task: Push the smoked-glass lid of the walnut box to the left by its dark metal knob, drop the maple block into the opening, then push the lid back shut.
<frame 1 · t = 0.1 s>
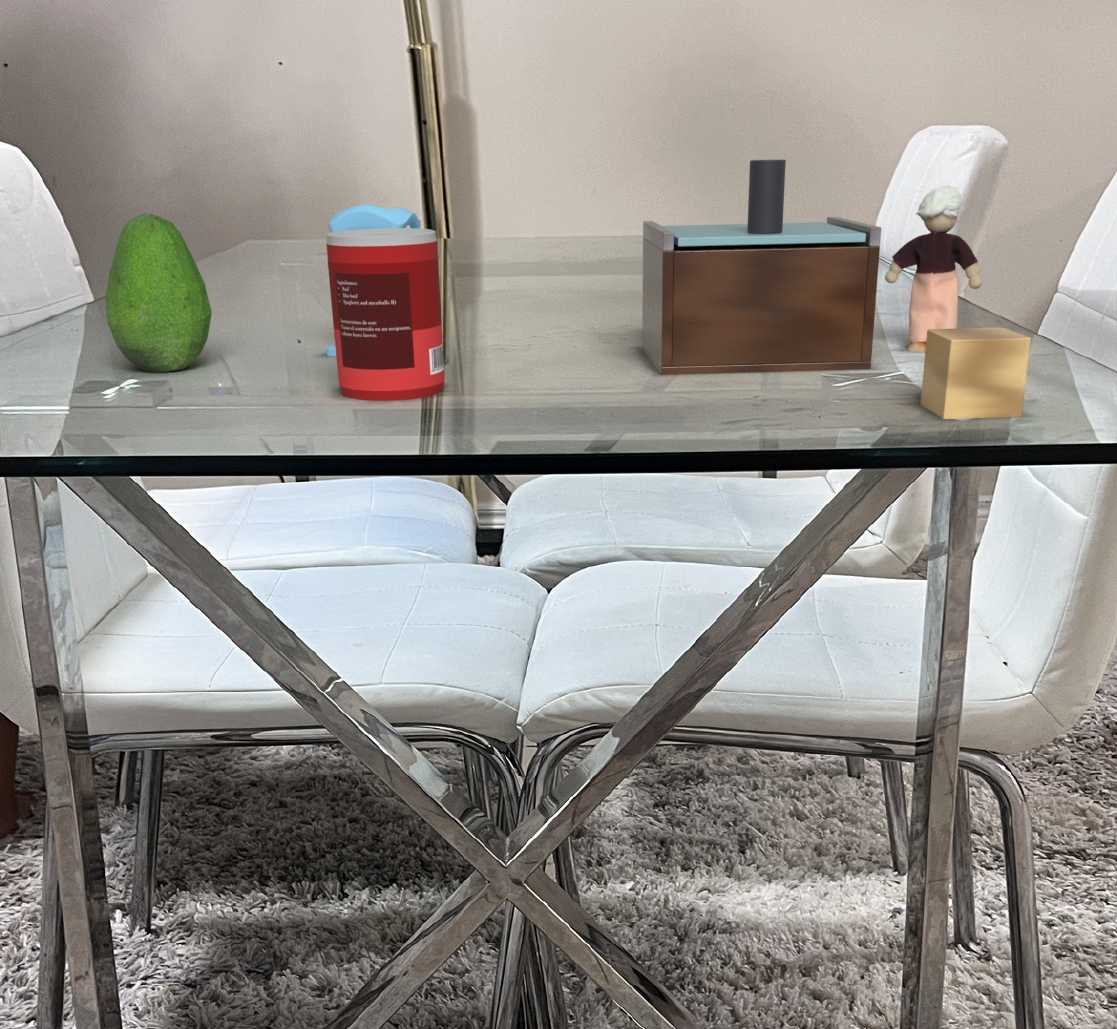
box: (749, 360, 108), on the table
avocado: (168, 375, 108), on the table
grandmother figurine: (926, 354, 110), on the table
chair: (385, 354, 116), on the table
canned food: (392, 397, 97), on the table
lid: (756, 198, 103), point 12 cm above the table, slide at 0.0 cm
block: (969, 413, 86), on the table
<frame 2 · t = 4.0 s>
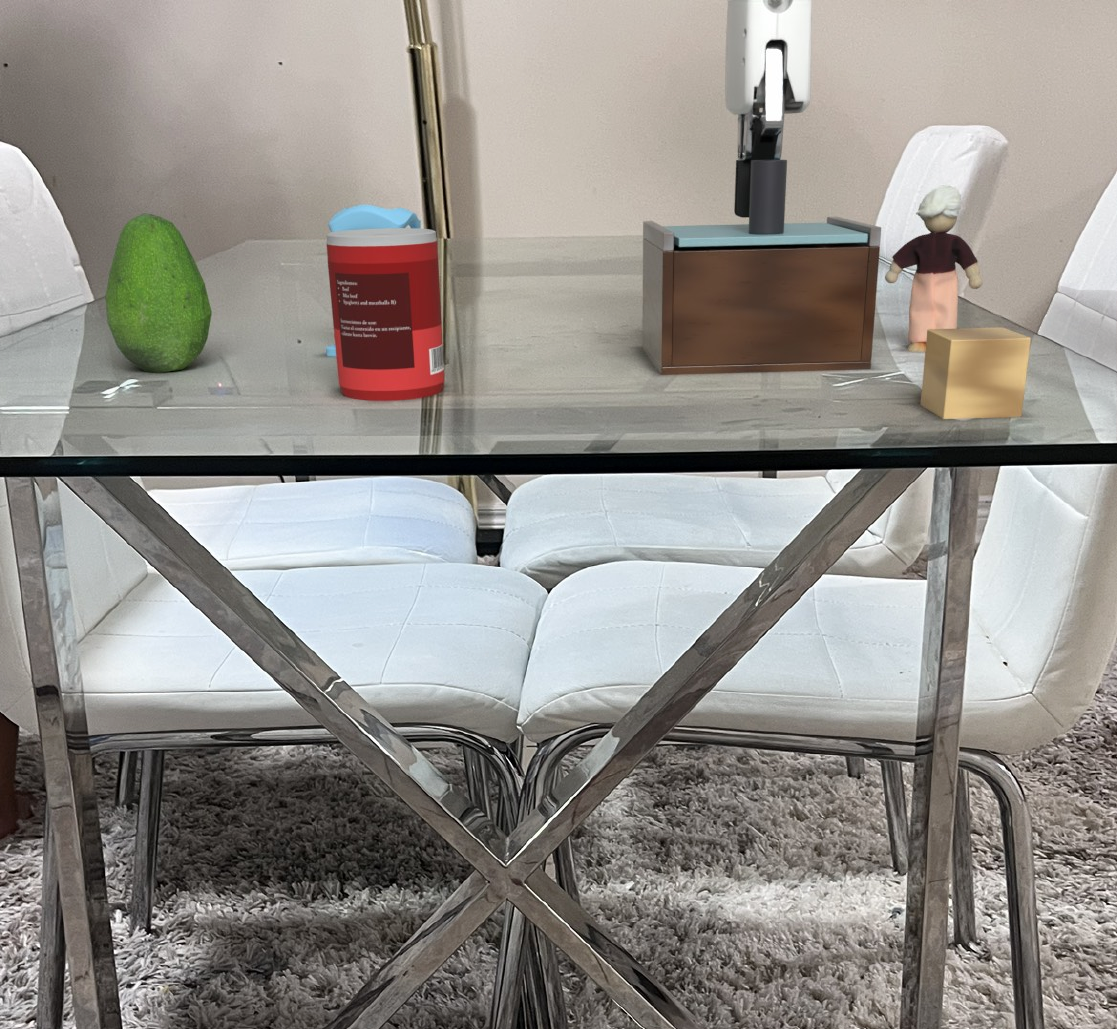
hand: (756, 216, 103), 11 cm above the table, tool pointing down, fingers closed
lid: (757, 199, 102), point 12 cm above the table, slide at 0.5 cm, touching gripper
everything else where it was.
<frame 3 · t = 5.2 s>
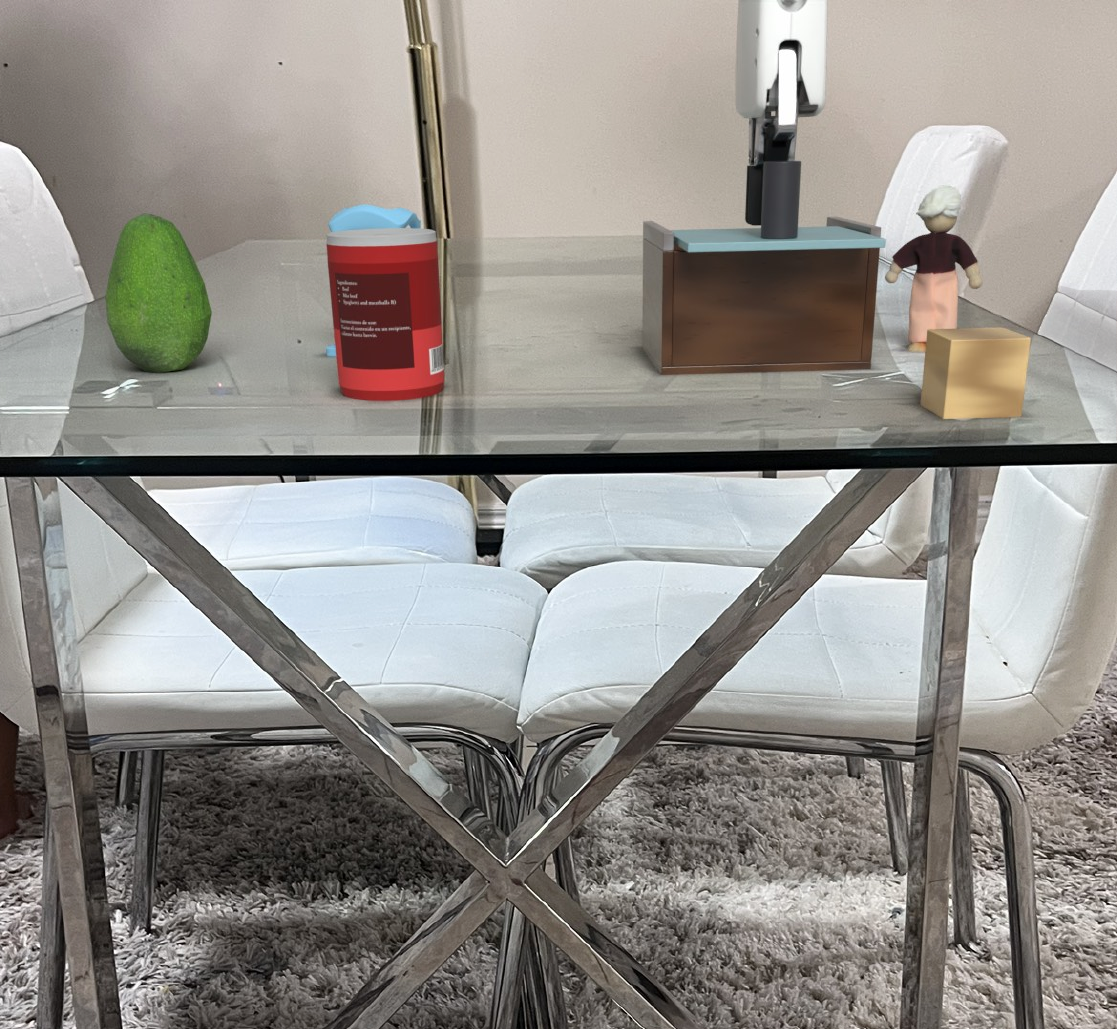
hand: (768, 223, 98), 11 cm above the table, tool pointing down, fingers closed
lid: (769, 202, 98), point 12 cm above the table, slide at 5.4 cm, touching gripper
everything else where it was.
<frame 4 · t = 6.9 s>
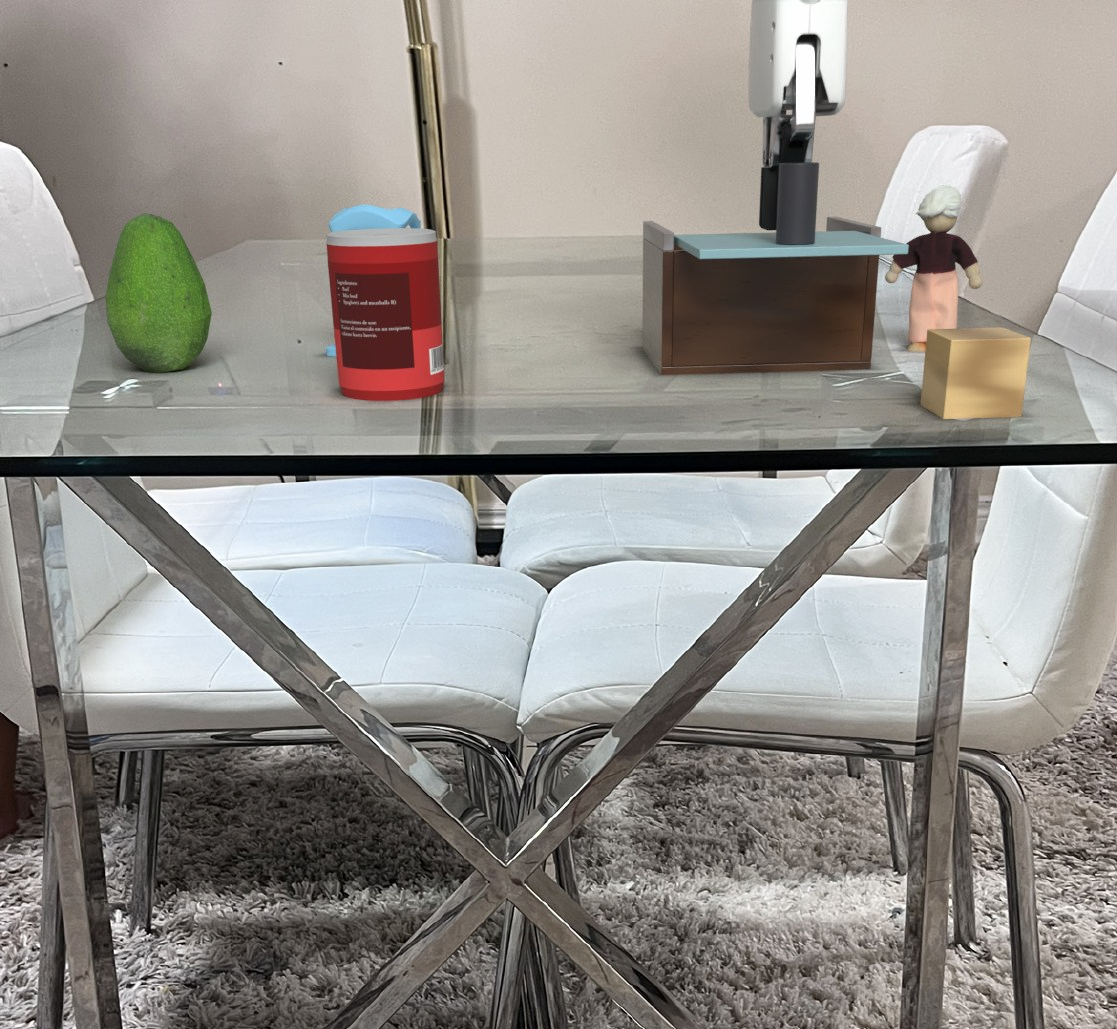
hand: (783, 228, 93), 11 cm above the table, tool pointing down, fingers closed
lid: (784, 205, 93), point 12 cm above the table, slide at 11.0 cm, touching gripper
everything else where it was.
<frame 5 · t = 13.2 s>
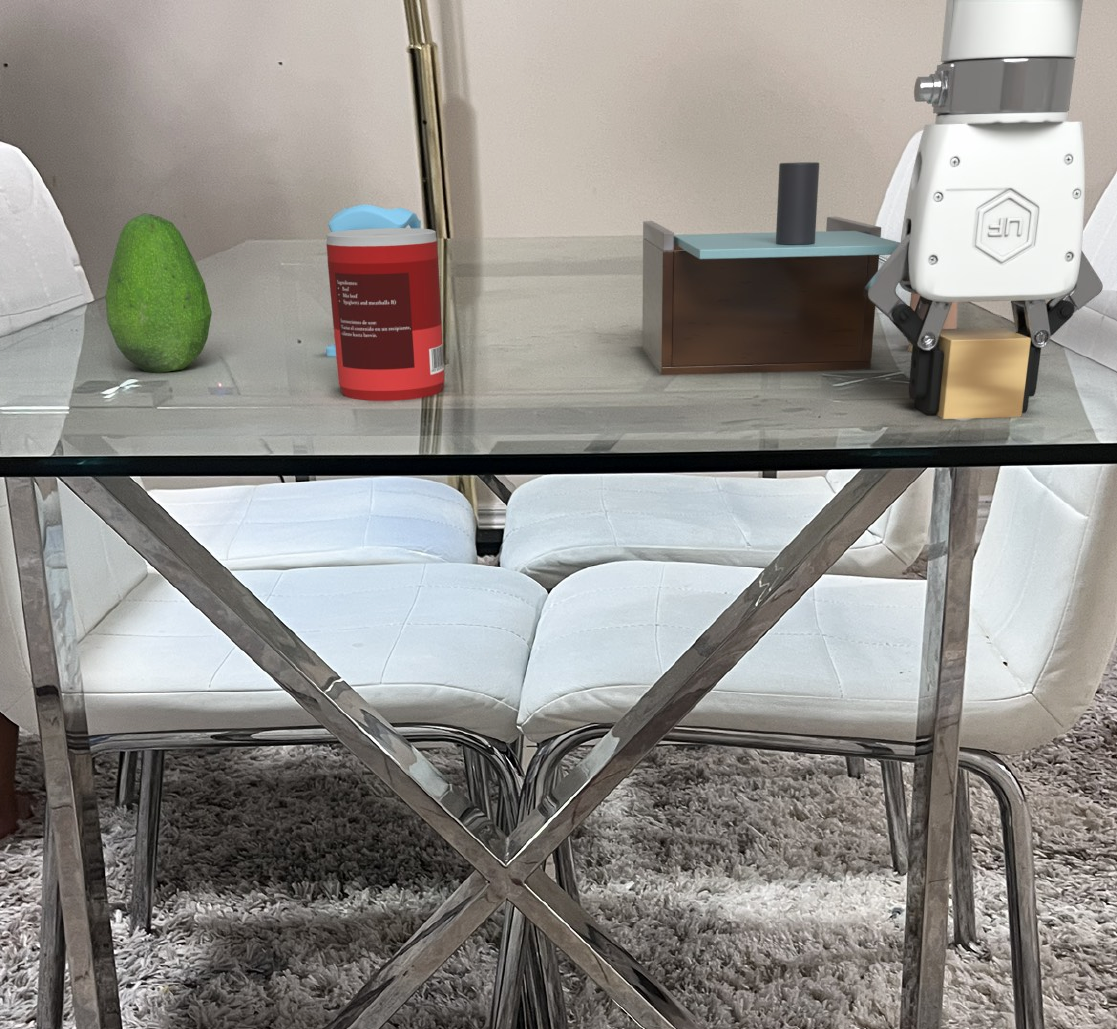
hand: (969, 406, 86), 0 cm above the table, tool pointing down, fingers closed on block, 5 cm apart
lid: (785, 205, 93), point 12 cm above the table, slide at 11.0 cm
block: (969, 413, 86), on the table, touching gripper
everything else where it was.
when the fingers open (8 cm above the table, at t = 19.3 s): block drops 7 cm, resting on box.
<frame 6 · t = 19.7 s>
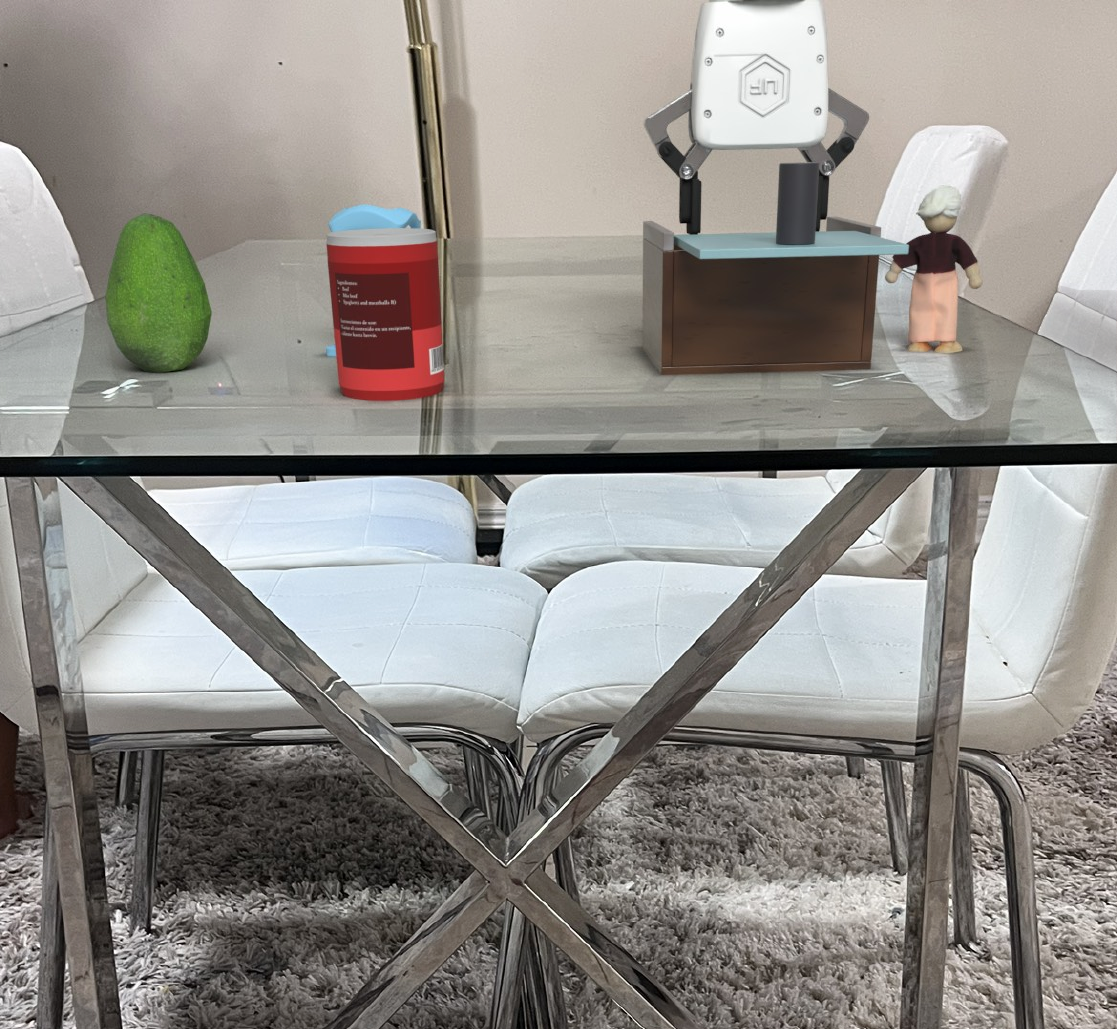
hand: (752, 231, 105), 10 cm above the table, tool pointing down, fingers open, 9 cm apart
block: (747, 347, 109), point 1 cm above the table, touching box
everything else where it was.
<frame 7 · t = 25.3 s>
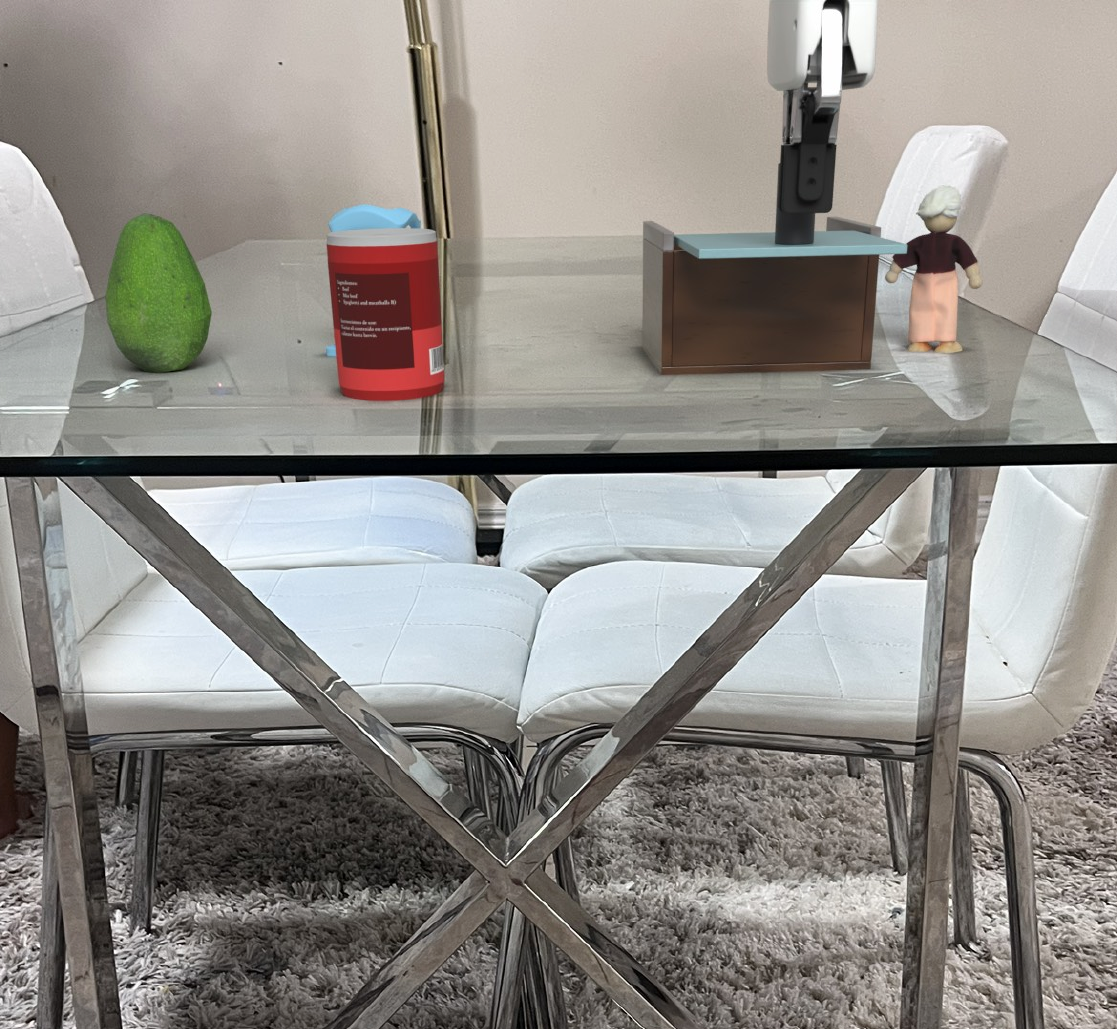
hand: (804, 211, 86), 12 cm above the table, tool pointing down, fingers closed
lid: (784, 205, 93), point 12 cm above the table, slide at 10.7 cm, touching gripper
everything else where it was.
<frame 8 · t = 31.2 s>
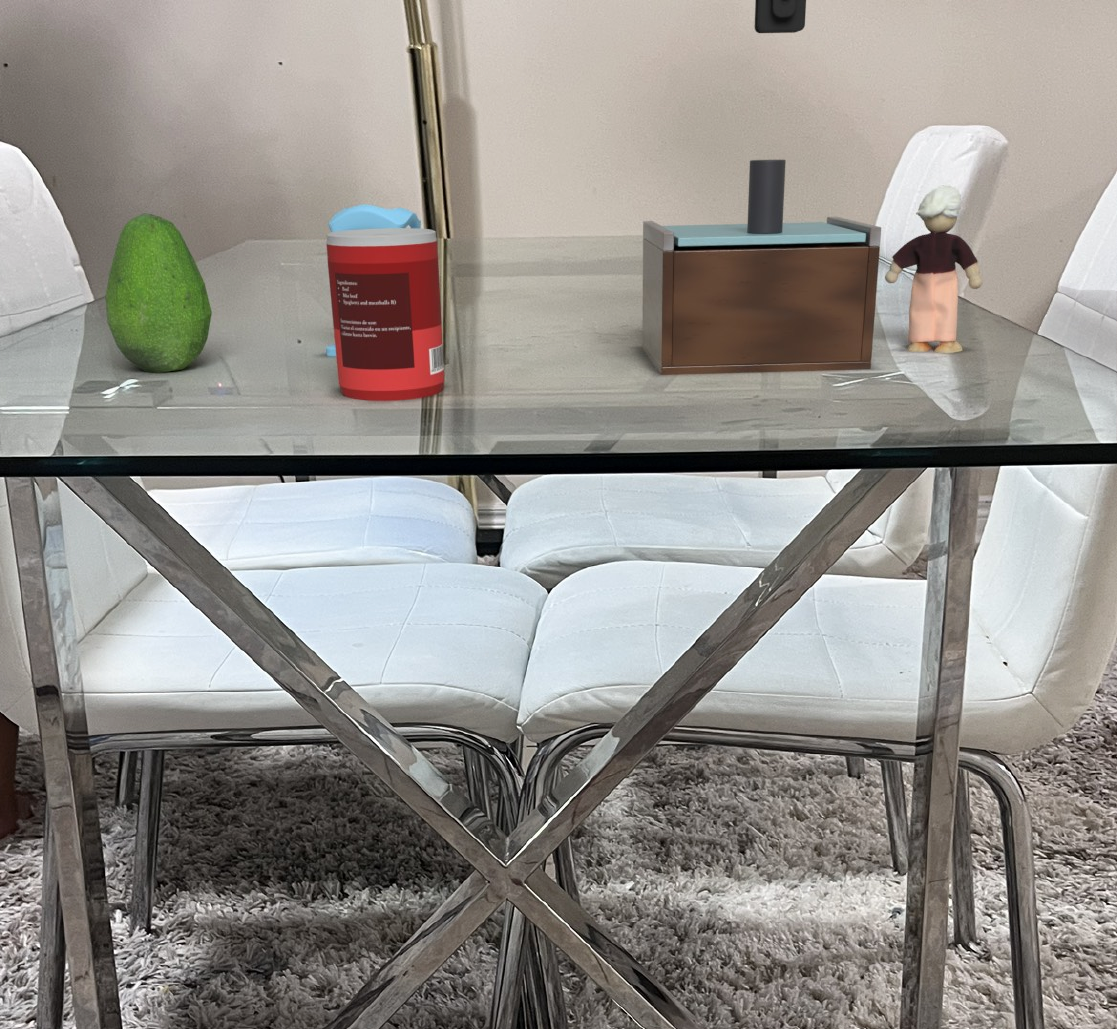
hand: (779, 31, 92), 23 cm above the table, tool pointing down, fingers closed
lid: (756, 198, 103), point 12 cm above the table, slide at 0.0 cm
everything else where it was.
at the end: lid pulled out 11.0 cm at the most during the clip, back to where it started at the end; block inside the target area on the box (1.7 cm from its centre), point 0.8 cm above the box's base; lid slide at 0.0 cm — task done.
